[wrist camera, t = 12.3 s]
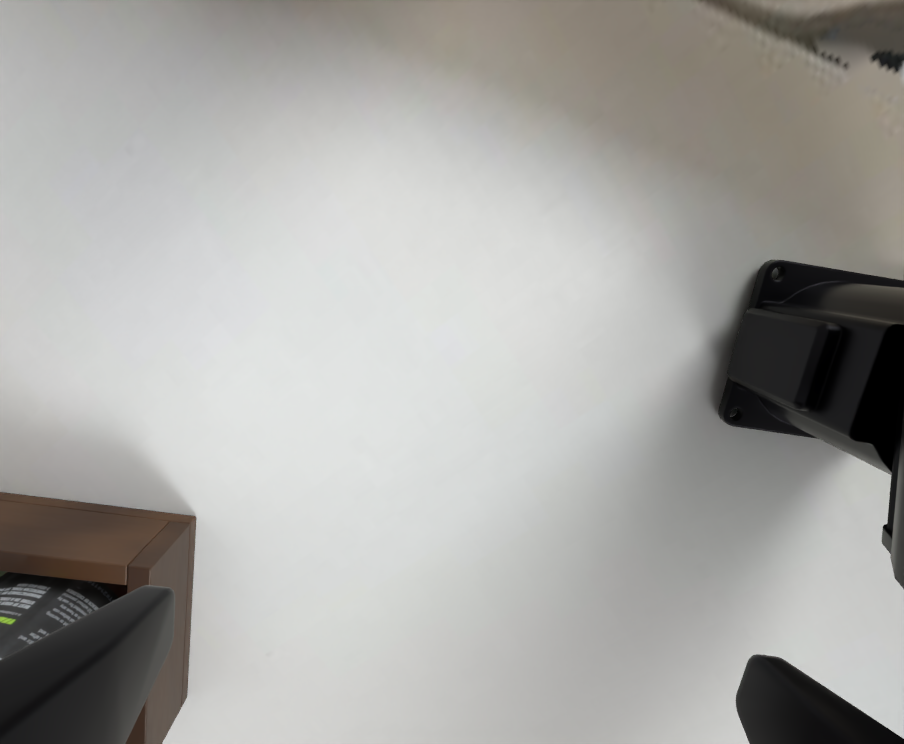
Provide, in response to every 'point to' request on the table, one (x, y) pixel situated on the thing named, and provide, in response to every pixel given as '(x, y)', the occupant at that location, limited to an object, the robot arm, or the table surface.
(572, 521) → the table surface
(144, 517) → the wooden square tray
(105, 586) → the supplement bottle
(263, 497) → the table surface
